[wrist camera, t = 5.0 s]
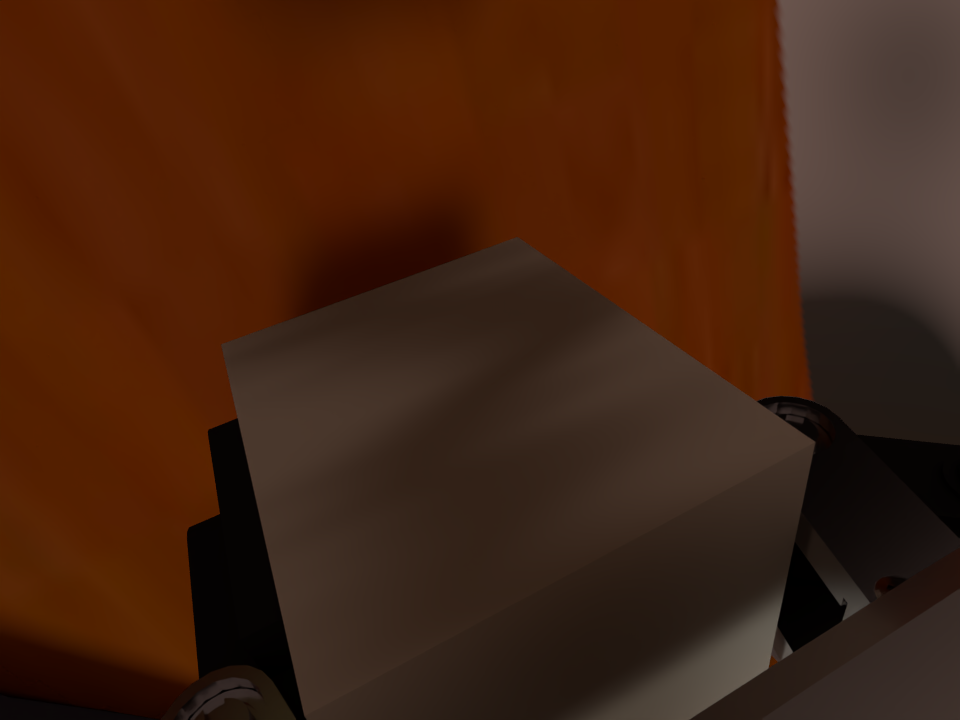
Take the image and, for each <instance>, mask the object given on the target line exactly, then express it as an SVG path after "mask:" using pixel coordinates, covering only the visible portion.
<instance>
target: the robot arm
mask: <svg viewBox="0 0 960 720" xmlns="http://www.w3.org/2000/svg"><path fill="white" fill-rule="evenodd" d="M756 402H758V403H759V404H761V405H762V406H764V407H765V408H767V409H768V410H769V411H771V412H772V413H774V414H775V415H777V416H778V417H780V418H781V419H783V420H784V421H785V422H787V423H788V424H790V425H791V426H793V427H794V428H796V429H797V430H799V431H800V432H801V433H803V434H804V435H806V436H807V437H809V438H810V439H812V440H813V441H815V446H814V451H813V456H812V461H811V466H810V470H809V475H808V480H807V485H806V489H805V494H804V499H803V504H802V509H801V513H800V518H799V523H798V528H797V533H796V537H795V542H794V547H793V552H792V556H791V561H790V566H789V571H788V576H787V580H786V585H785V590H784V595H783V600H782V604H781V609H780V614H779V619H778V624H777V628H776V633H775V638H774V643H773V647H772V652H771V655H772V656H773V657H774V658H775V659H776V660H777V661H778V663H776V664H775V665H773V666H772V667H770V668H768V669H767V670H765V671H764V672H762V673H761V674H759V675H758V676H756V677H754V678H753V679H751V680H750V681H748V682H747V683H745V684H744V685H742V686H741V687H739V688H737V689H736V690H734V691H733V692H731V693H730V694H728V695H727V696H725V697H723V698H722V699H720V700H719V701H717V702H716V703H714V704H713V705H711V706H710V707H708V708H706V709H705V710H703V711H702V712H700V713H699V714H697V715H696V716H694V717H692V718H691V719H689V720H960V445H950V444H941V443H931V442H920V441H912V440H902V439H892V438H883V437H874V436H864V435H856V434H855V433H854V432H853V431H852V430H851V429H850V428H849V427H848V426H847V425H846V424H845V423H844V422H843V420H841V418H840V417H838V416H837V415H836V414H835V413H833V412H832V411H831V410H829V409H828V408H827V407H825V406H822V405H820V404H818V403H816V402H814V401H811V400H807V399H803V398H799V397H789V396H776V397H768V398H764V399H761V400H758V401H756ZM208 437H209V444H210V450H211V457H212V463H213V470H214V477H215V483H216V490H217V496H218V503H219V509H220V514H219V515H217V516H215V517H212V518H210V519H208V520H205V521H203V522H201V523H198V524H196V525H194V526H191V527H189V529H188V531H187V544H188V556H189V567H190V579H191V590H192V602H193V613H194V625H195V636H196V648H197V659H198V671H199V680H197V681H195V682H194V683H192V684H191V685H190V686H189V687H188V688H187V689H186V690H185V691H184V692H183V693H182V694H181V695H180V696H178V697H177V698H176V699H175V701H174V702H173V704H172V705H171V706H170V708H169V709H168V710H167V712H166V713H165V715H164V716H163V717H162V719H161V720H307V719H306V718H305V716H304V712H303V708H302V703H301V699H300V694H299V690H298V685H297V681H296V676H295V672H294V667H293V663H292V658H291V654H290V650H289V645H288V641H287V636H286V632H285V627H284V623H283V618H282V614H281V609H280V605H279V600H278V596H277V591H276V587H275V582H274V578H273V573H272V569H271V565H270V560H269V556H268V551H267V547H266V542H265V538H264V533H263V529H262V524H261V520H260V515H259V511H258V506H257V502H256V497H255V493H254V488H253V484H252V480H251V475H250V471H249V466H248V462H247V457H246V453H245V448H244V444H243V439H242V435H241V430H240V426H239V421H238V418H237V419H235V420H232V421H229V422H227V423H224V424H222V425H219V426H217V427H214V428H212V429H209V430H208Z"/></svg>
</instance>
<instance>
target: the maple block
mask: <svg viewBox="0 0 960 720" xmlns="http://www.w3.org/2000/svg"><path fill="white" fill-rule="evenodd" d="M221 345H222V350H223V354H224V359H225V363H226V368H227V372H228V377H229V381H230V386H231V390H232V395H233V399H234V403H235V408H236V412H237V417H238V421H239V426H240V430H241V435H242V439H243V444H244V448H245V453H246V457H247V462H248V466H249V471H250V475H251V480H252V484H253V488H254V493H255V497H256V502H257V506H258V511H259V515H260V520H261V524H262V529H263V533H264V538H265V542H266V547H267V551H268V556H269V560H270V565H271V569H272V573H273V578H274V582H275V587H276V591H277V596H278V600H279V605H280V609H281V614H282V618H283V623H284V627H285V632H286V636H287V641H288V645H289V650H290V654H291V658H292V663H293V667H294V672H295V676H296V681H297V685H298V690H299V694H300V699H301V703H302V708H303V712H304V716H305V718H306V719H307V720H689V719H691V718H692V717H694V716H696V715H697V714H699V713H700V712H702V711H703V710H705V709H706V708H708V707H710V706H711V705H713V704H714V703H716V702H717V701H719V700H720V699H722V698H723V697H725V696H727V695H728V694H730V693H731V692H733V691H734V690H736V689H737V688H739V687H741V686H742V685H744V684H745V683H747V682H748V681H750V680H751V679H753V678H754V677H756V676H758V675H759V674H761V673H762V672H764V671H765V670H767V669H768V667H769V662H770V657H771V652H772V647H773V643H774V638H775V633H776V628H777V624H778V619H779V614H780V609H781V604H782V600H783V595H784V590H785V585H786V580H787V576H788V571H789V566H790V561H791V556H792V552H793V547H794V542H795V537H796V533H797V528H798V523H799V518H800V513H801V509H802V504H803V499H804V494H805V489H806V485H807V480H808V475H809V470H810V466H811V461H812V456H813V451H814V446H815V441H813V440H812V439H810V438H809V437H807V436H806V435H804V434H803V433H801V432H800V431H799V430H797V429H796V428H794V427H793V426H791V425H790V424H788V423H787V422H785V421H784V420H783V419H781V418H780V417H778V416H777V415H775V414H774V413H772V412H771V411H769V410H768V409H767V408H765V407H764V406H762V405H761V404H759V403H758V402H756V401H755V400H753V399H752V398H751V397H749V396H748V395H746V394H745V393H743V392H742V391H740V390H739V389H738V388H736V387H735V386H733V385H732V384H730V383H729V382H727V381H726V380H724V379H723V378H722V377H720V376H719V375H717V374H716V373H714V372H713V371H711V370H710V369H708V368H707V367H706V366H704V365H703V364H701V363H700V362H698V361H697V360H695V359H694V358H692V357H691V356H690V355H688V354H687V353H685V352H684V351H682V350H681V349H679V348H678V347H676V346H675V345H674V344H672V343H671V342H669V341H668V340H666V339H665V338H663V337H662V336H661V335H659V334H658V333H656V332H655V331H653V330H652V329H650V328H649V327H647V326H646V325H645V324H643V323H642V322H640V321H639V320H637V319H636V318H634V317H633V316H631V315H630V314H629V313H627V312H626V311H624V310H623V309H621V308H620V307H618V306H617V305H615V304H614V303H613V302H611V301H610V300H608V299H607V298H605V297H604V296H602V295H601V294H599V293H598V292H597V291H595V290H594V289H592V288H591V287H589V286H588V285H586V284H585V283H584V282H582V281H581V280H579V279H578V278H576V277H575V276H573V275H572V274H570V273H569V272H568V271H566V270H565V269H563V268H562V267H560V266H559V265H557V264H556V263H554V262H553V261H552V260H550V259H549V258H547V257H546V256H544V255H543V254H541V253H540V252H538V251H537V250H536V249H534V248H533V247H531V246H530V245H528V244H527V243H525V242H524V241H522V240H521V239H520V238H518V237H517V238H514V239H511V240H508V241H506V242H503V243H500V244H497V245H495V246H492V247H489V248H486V249H484V250H481V251H478V252H475V253H472V254H470V255H467V256H464V257H461V258H459V259H456V260H453V261H450V262H448V263H445V264H442V265H439V266H437V267H434V268H431V269H428V270H426V271H423V272H420V273H417V274H415V275H412V276H409V277H406V278H403V279H401V280H398V281H395V282H392V283H390V284H387V285H384V286H381V287H379V288H376V289H373V290H370V291H368V292H365V293H362V294H359V295H357V296H354V297H351V298H348V299H346V300H343V301H340V302H337V303H334V304H332V305H329V306H326V307H323V308H321V309H318V310H315V311H312V312H310V313H307V314H304V315H301V316H299V317H296V318H293V319H290V320H288V321H285V322H282V323H279V324H276V325H274V326H271V327H268V328H265V329H263V330H260V331H257V332H254V333H252V334H249V335H246V336H243V337H241V338H238V339H235V340H232V341H230V342H227V343H224V344H221Z"/></svg>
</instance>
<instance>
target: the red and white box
mask: <svg viewBox="0 0 960 720" xmlns="http://www.w3.org/2000/svg"><path fill="white" fill-rule="evenodd" d="M0 720H157V719H152V718H146V717H140V716H135V715H128V714H122V713H115V712H109V711H102V710H95V709H88V708H81V707H74V706H67V705H60V704H53V703H46V702H39V701H32V700H26V699H19V698H13V697H6V696H3V695H1V694H0Z"/></svg>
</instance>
